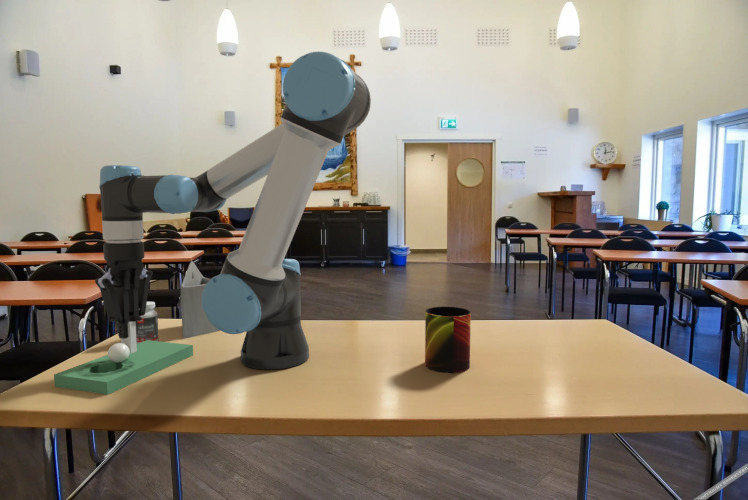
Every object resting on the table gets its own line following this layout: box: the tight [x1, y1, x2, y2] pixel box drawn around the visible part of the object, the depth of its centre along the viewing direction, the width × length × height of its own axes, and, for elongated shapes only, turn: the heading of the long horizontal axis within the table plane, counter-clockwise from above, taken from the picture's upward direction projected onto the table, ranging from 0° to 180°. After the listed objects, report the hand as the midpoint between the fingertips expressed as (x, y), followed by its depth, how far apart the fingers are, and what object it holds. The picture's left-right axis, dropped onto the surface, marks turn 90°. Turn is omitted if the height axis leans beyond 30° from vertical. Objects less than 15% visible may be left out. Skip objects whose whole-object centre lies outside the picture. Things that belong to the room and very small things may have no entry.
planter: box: [180, 260, 220, 339], centre depth 132 cm, size 16×8×19 cm, turn 1°
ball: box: [107, 342, 130, 363], centre depth 100 cm, size 4×4×4 cm
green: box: [53, 340, 194, 395], centre depth 102 cm, size 24×13×2 cm, turn 162°
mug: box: [424, 306, 472, 374], centre depth 106 cm, size 10×14×12 cm
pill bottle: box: [136, 301, 159, 344], centre depth 122 cm, size 6×6×10 cm
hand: (129, 351), depth 102 cm, fingers closed
